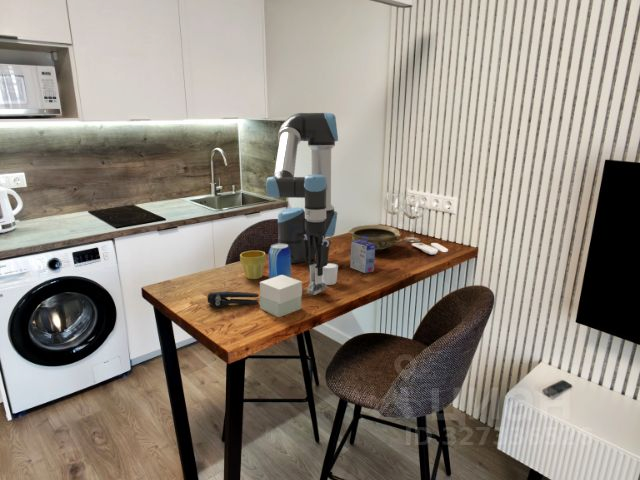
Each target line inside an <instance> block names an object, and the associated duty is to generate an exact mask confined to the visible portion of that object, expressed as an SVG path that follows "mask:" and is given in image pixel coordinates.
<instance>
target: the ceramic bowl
mask: <svg viewBox="0 0 640 480" xmlns="http://www.w3.org/2000/svg"><path fill="white" fill-rule="evenodd" d="M347 232H348V234H349V235H351V238H352V241H355V240H361V239H362V237H363V236H366V237H369V238H368V241H367V242H370V243H373V244H375V253H377V252H378V253H379V252H382V251H383V249H387V248H390V247H392V246H394V245H395V244H399V243H402V242H403V239H401V238H397V236H399V235H400V231H399V230H398V229H397V228H394V227H392V226H388V225H380V224H364V225H358V226H355V227H352V228H351V229H348V230H347ZM363 240H367V239H366V238H363Z"/></svg>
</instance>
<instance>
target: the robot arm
mask: <svg viewBox="0 0 640 480" xmlns="http://www.w3.org/2000/svg"><path fill="white" fill-rule="evenodd" d="M277 139H278V147H277V155H276V160H275V166H274V173H273V176H269V177H266V178H267V179H266V181H265V190H266V194H267V196H268V197H269V198H276V199H277V198H278V199H279V198H280V199H281V198H283V199H285V198H295V199H296V198H298V199H299V198H302V199H304V208H303V207H291V208H285V209H283V210H281V211H279V212H278V214H277V231H278V232H277V234H278V236H277V238H278V243H277V244H279V243H282V244H287V245H288V248H289V249H290V251H291V264H298V263H302V262H306V263H307V264H308V273H309V283H310V282H311V281H312V280H314V276H313V275H314V272H315V284H316V285H317V284H319V283H322V275H323V267H324V266H327V263H329V262H328V259H329V254H330V253H329V250H330V246H331V244H332V242H331V240H328V239H326V238H332V237H333V236H334V235H335V232H336V228H337V227H336V226H337V219H338V212H337V211H335V207H334V206H333V205H332V149H333V148H334V147H335V146H336V142H338V141H339V136H338V127H337V117H336V115H335V114H334V113H331V112H299V113H294V114H293V115H291V116H289V117H288V118H287V119H286V120H284V122H283V123H282V124H281V126H280V127H279V130H278V134H277ZM301 142H307V146H308V147H309V148H310V150H311V174H307V175H305V176H295V170H296V162H297V154H298V153H297V152H298V146H299V144H300V143H301Z"/></svg>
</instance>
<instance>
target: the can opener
mask: <svg viewBox="0 0 640 480" xmlns="http://www.w3.org/2000/svg"><path fill="white" fill-rule="evenodd" d="M206 296H207V298H206V299H207V303H209V304H210V305H211V306H212V307H214V308H217V309H218V308H219V309H220V308H222V307H224V306H226V305H229V304H231V305H232V304H235V305H246V306H247V305H250V306H251V305H257V304H259V301H258V300H257V299H247V298H258V297H260V294H258V293H255V292H245V291H243V292H242V291H228V290H224V291H217V292H216V291H214V292H209V293H208V294H207V295H206ZM228 298H230V299H228Z"/></svg>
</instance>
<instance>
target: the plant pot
mask: <svg viewBox="0 0 640 480" xmlns="http://www.w3.org/2000/svg"><path fill="white" fill-rule="evenodd" d="M239 260H240V263H241V265H242V268H243V271H244V274H245V278H246V279H248V280H257V279H261V278H262V277H263V274H264V267H265V263H266V260H267V254H266V252H265V251H262V250H248V251H243V252H241V253H240V254H239Z"/></svg>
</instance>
